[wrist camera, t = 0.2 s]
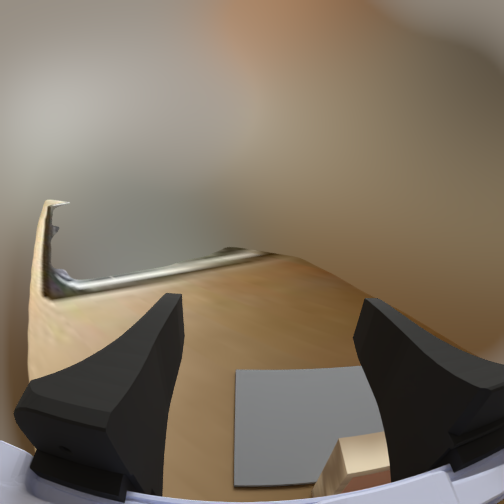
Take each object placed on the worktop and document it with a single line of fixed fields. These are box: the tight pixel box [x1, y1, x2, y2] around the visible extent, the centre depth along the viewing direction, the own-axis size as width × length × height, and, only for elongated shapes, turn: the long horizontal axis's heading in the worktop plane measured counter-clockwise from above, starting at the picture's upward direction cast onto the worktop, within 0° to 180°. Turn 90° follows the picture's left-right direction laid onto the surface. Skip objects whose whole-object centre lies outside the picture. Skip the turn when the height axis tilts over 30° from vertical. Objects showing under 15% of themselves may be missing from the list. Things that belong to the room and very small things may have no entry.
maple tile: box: [312, 431, 391, 498], centre depth 18 cm, size 3×6×10 cm, turn 91°
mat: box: [234, 366, 384, 487], centre depth 29 cm, size 16×20×1 cm
